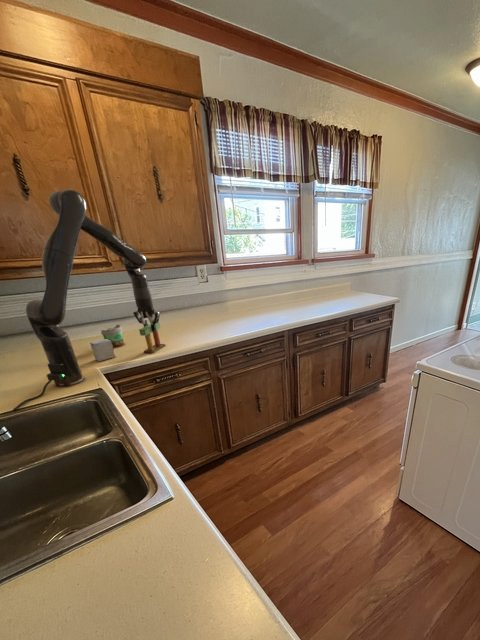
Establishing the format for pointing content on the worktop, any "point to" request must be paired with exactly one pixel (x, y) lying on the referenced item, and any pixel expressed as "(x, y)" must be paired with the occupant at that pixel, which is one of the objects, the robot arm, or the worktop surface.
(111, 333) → the food container
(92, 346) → the medicine box
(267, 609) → the worktop surface
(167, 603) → the worktop surface
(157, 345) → the rod stand
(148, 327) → the bar
